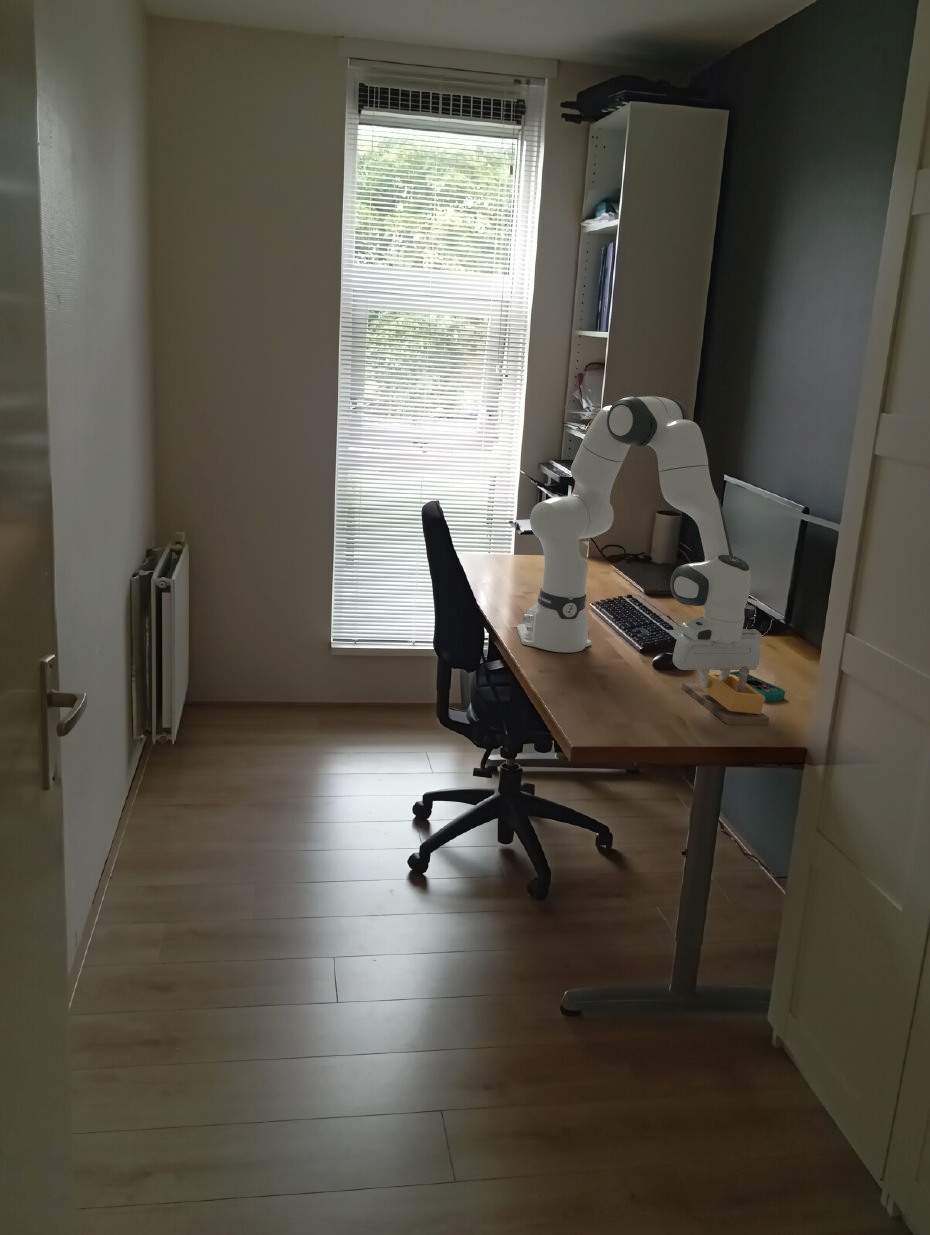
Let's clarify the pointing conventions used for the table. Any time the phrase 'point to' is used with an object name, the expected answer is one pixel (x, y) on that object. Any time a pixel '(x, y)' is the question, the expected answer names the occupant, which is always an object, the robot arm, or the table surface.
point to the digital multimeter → (763, 688)
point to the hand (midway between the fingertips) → (711, 687)
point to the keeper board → (719, 709)
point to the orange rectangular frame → (734, 694)
